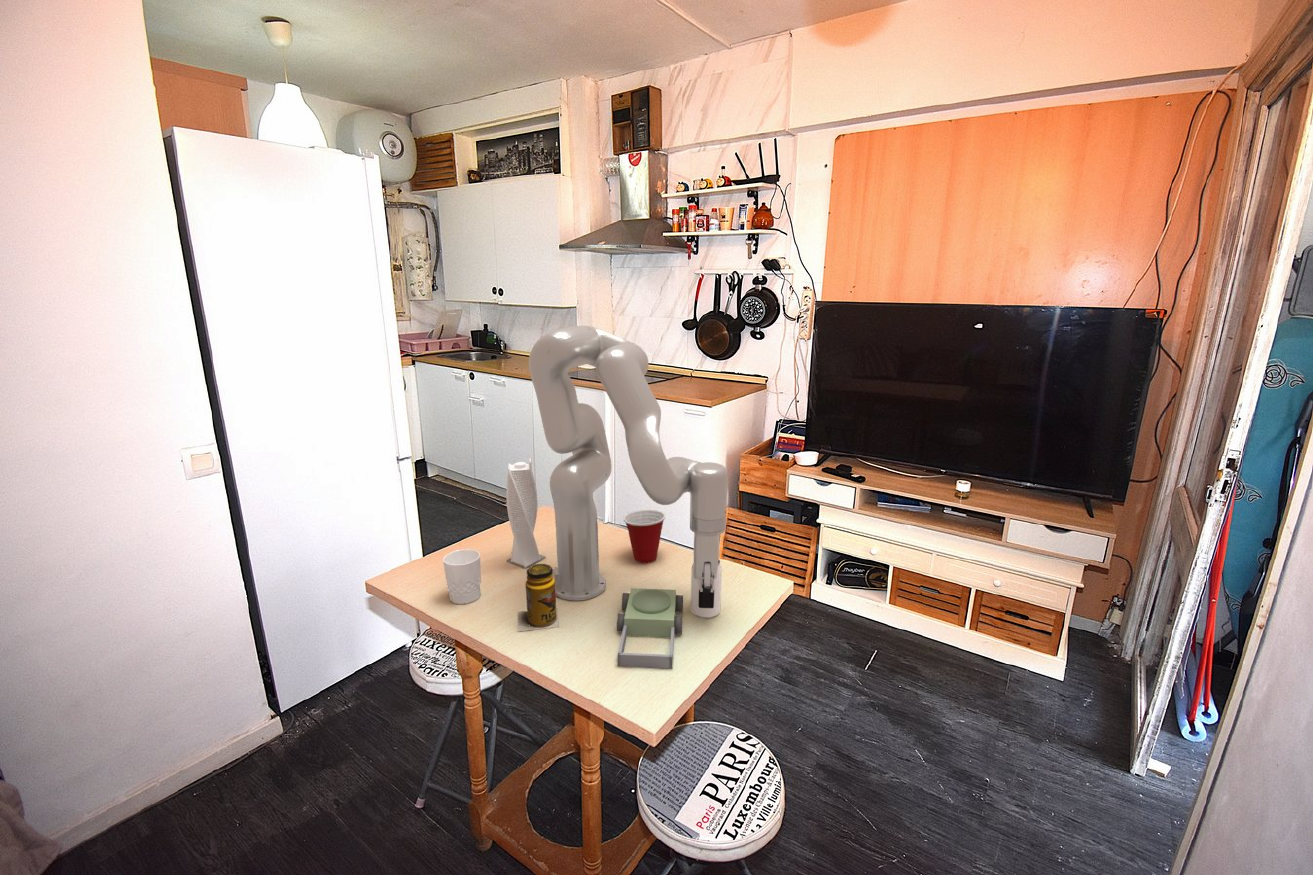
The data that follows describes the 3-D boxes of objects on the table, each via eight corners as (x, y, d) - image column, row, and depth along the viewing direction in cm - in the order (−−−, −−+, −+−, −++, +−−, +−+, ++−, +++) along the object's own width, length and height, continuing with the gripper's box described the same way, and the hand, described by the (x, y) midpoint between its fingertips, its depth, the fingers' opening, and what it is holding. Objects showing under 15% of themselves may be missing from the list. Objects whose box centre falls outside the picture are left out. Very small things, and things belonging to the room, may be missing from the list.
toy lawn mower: (609, 665, 108) (609, 642, 106) (623, 603, 128) (623, 583, 127) (680, 668, 107) (680, 645, 105) (683, 606, 127) (683, 585, 126)
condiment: (559, 627, 120) (557, 574, 117) (517, 632, 118) (513, 579, 115) (557, 608, 127) (554, 558, 124) (517, 613, 125) (514, 562, 122)
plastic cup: (639, 545, 157) (639, 504, 154) (673, 555, 151) (673, 513, 148) (615, 560, 148) (614, 517, 145) (649, 572, 143) (649, 527, 140)
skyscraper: (549, 559, 149) (544, 455, 142) (526, 572, 142) (520, 464, 135) (526, 551, 153) (520, 450, 146) (503, 563, 147) (495, 458, 140)
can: (718, 620, 122) (720, 569, 119) (688, 617, 123) (689, 566, 120) (721, 604, 128) (723, 555, 125) (692, 601, 129) (693, 552, 126)
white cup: (466, 584, 136) (463, 546, 134) (490, 593, 133) (487, 553, 130) (439, 599, 130) (435, 559, 127) (464, 609, 126) (460, 568, 123)
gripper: (690, 505, 129) (689, 578, 134) (689, 538, 112) (687, 620, 117) (724, 506, 128) (721, 579, 133) (728, 540, 112) (725, 621, 116)
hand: (705, 597), depth 125 cm, fingers closed on can, 6 cm apart
